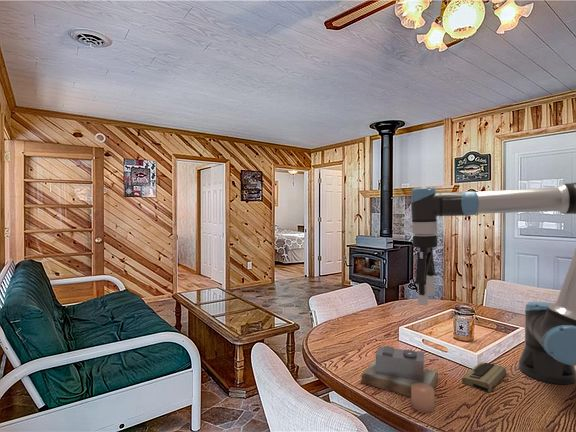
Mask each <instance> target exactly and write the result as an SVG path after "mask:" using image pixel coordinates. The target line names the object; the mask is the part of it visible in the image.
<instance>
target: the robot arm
mask: <svg viewBox="0 0 576 432" xmlns="http://www.w3.org/2000/svg"><path fill="white" fill-rule="evenodd" d="M410 195H411V198H410V199H411V201H410V205H411V222H412V224H411V225H410V228H412V234H413V236H412V247H414V248H418V249H419V251H417V253H416V271H415V272H416V273H415V281H414V284H415V285H417V304H418V306H425V307H426V306H428V305H429V304H428V303H429V301H428V296H435V295H436V291H435V290H436V288H435V277H436V276H437V274H438V273H437V272H436V268H435V261H434V260H435V259H434V251H433V250H434V248H437V247H438V236H437V235H436V234H438V221H437V220H438V219H437V217H458V216H459V217H460V216H464V217H468V216H475V215H476V216H477V215H478V214H479V215H480V214H507V213H536V212H542V213H543V212H559V213H560V214H561V215H566V214H567V215H568V214H569V215H571V214H573V215H576V182H570V183H561V184H559V185H558V186H556V187H539V188H522V189H521V188H520V189H506V190H489V191H486V190H484V191H465V190H464V191H454V192H453V191H452V192H437V190H436V187H434V186H433V187H432V186H430V187H427V186H426V187H415V188H413V189H412V190H411V193H410ZM524 313H525V316H524V317H525V318H524V319H525V320H524V321H525V324H524V326H525V327H524V329H525V331H524V333H525V337H524V338H525V339H524V340H525V342H524V343H525V344H524V345H525V346H524V348H523V350H522V352H521V355H520V357H519V359H518V369H519V370H520V371H521V372H522V373H523V374H524V375H527V376H529V377H531V378H533V379H536V380H538V381H542V382H545V383H551V384H555V385H571V384H574V383H576V368H575V366H576V249H575V250H574V253H573V255H572V258H571V261H570V263H569V267H568V270H567V272H566V275H565V278H564V280H563V283H562V286H561V289H560V293H559V295H558V298H557V300H556V302H554V303H553V302H546V301H545V302H544V301H530V302H529V301H528V302H527V303H526V304H525V310H524Z"/></svg>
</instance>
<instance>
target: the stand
mask: <svg viewBox="0 0 576 432" xmlns="http://www.w3.org/2000/svg"><path fill="white" fill-rule="evenodd" d="M438 381H439V372H437V371H435V370H431V369H427V368H424V382H422V381H416V380H411V379H405V378H399V377H393V376H387V375H381V374H376V358H374V360H373V361H372V363H370V365H369V366H368V367H367V368H366V369H365V370H364V371H363V373H362V374H361V381H360V382H361V384H365V385H369V386H372V387H375V388H379V389H383V390H385V391H389V392H393V393H396V394H400V395H404V396H407V397H410V398H411V385H412V384H415V383H424V384H427V385H430V386H431V387H433V389H434V390H435V388H436V386H437V384H438Z"/></svg>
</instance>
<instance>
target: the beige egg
mask: <svg viewBox="0 0 576 432" xmlns="http://www.w3.org/2000/svg"><path fill="white" fill-rule="evenodd" d="M410 401H411V402H410V404H411V407H412V408H413V409H414V410H415V411H418V412H420V413H424V414H428V413H432V412H434V411H435V389H433V387H431V386H430V385H427V384H424V383H415V384H412V385H411V397H410Z"/></svg>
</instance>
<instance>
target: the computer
mask: <svg viewBox="0 0 576 432" xmlns="http://www.w3.org/2000/svg"><path fill="white" fill-rule="evenodd" d="M480 362H481V363H480ZM480 362H479V363H478V364H477V365H475V366H473V368H472V369H471V370H469V372H468V373H466V374H465V375H463V377H461V382H462V384H464V385H466V386H469V387H472V388H476V389H478V390H481V391H484V392H487V393H491V392H492V391H493V388H495V387H496V386H497V385H498V384H499V383H500V382H501V380H503V378H504V377H505V376H507V371H506V367H505V366H502V365H499V364H495V363H490V362H482V361H480Z"/></svg>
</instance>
